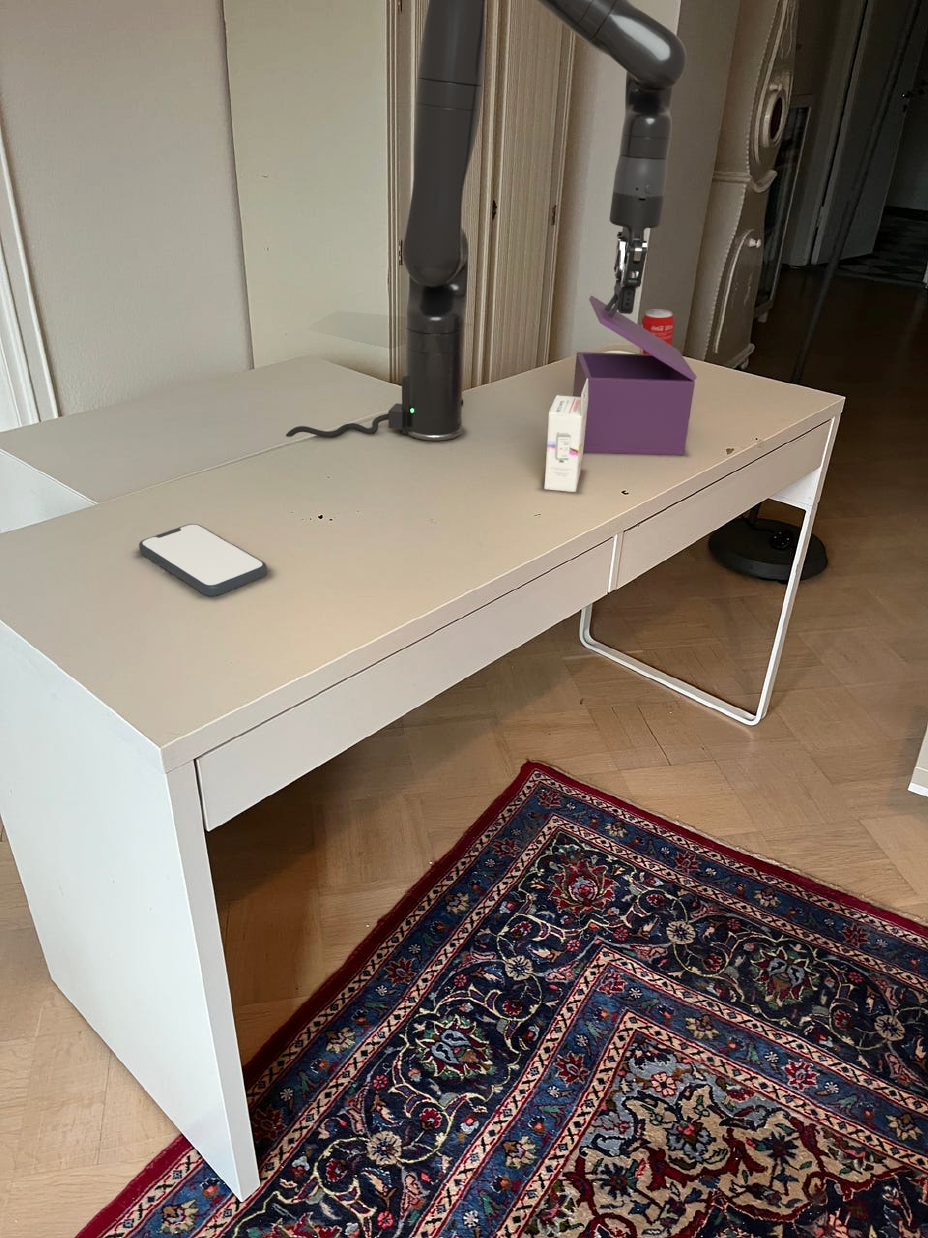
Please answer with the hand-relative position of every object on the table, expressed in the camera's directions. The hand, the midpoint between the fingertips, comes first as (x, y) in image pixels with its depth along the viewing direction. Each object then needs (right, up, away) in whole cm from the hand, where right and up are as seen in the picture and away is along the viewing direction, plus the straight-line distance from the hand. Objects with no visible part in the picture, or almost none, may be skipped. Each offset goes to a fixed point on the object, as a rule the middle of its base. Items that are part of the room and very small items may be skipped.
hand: (622, 308), depth 149 cm
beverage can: (+11, -6, +32) cm, 34 cm away
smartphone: (-57, -42, -32) cm, 77 cm away
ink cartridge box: (-10, -28, -6) cm, 30 cm away
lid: (+3, -4, +2) cm, 6 cm away
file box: (+2, -18, +11) cm, 21 cm away
